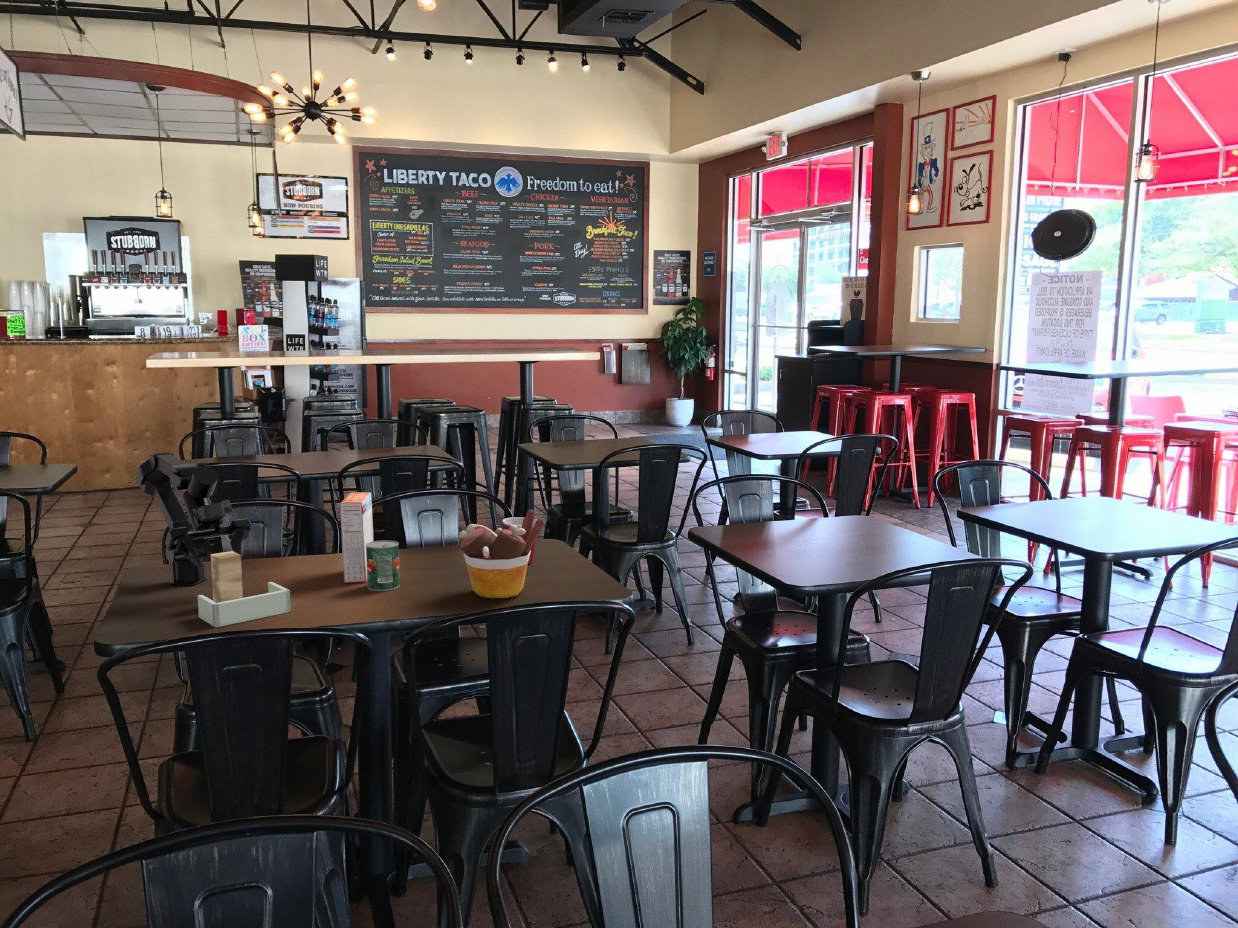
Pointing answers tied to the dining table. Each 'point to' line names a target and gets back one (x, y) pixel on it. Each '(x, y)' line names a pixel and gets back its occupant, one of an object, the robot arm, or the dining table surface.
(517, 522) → the plastic cup
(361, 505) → the cracker box
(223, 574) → the maple block
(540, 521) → the bucket of meat
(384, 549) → the canned tomato
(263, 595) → the open-side box
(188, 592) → the dining table surface
